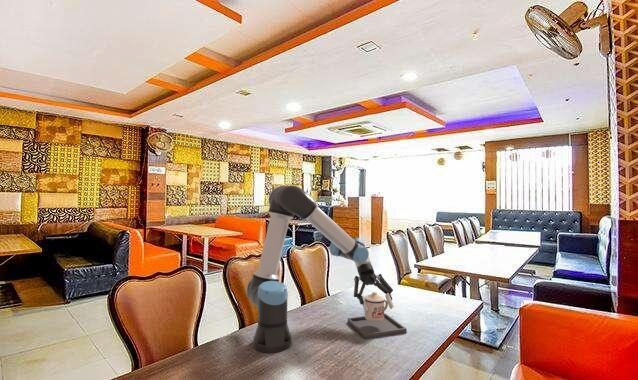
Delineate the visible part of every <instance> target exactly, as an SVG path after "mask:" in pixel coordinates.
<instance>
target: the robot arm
mask: <svg viewBox="0 0 638 380" xmlns="http://www.w3.org/2000/svg"><path fill="white" fill-rule="evenodd" d="M268 204H269V208H268V214H269V216H270V219H269V222H268V227H267V231H266V235H265V239H264V243H263V247H262V251H261V255H260V258H259V259H260V260H259V263H258V269H257V270H256V271H254V272H253V274H252V278H251V279H250V280H249V282H248V283H247V285H246V296H247V298H248V300H249V301H250V303H252V305H254V307H255V308H256V309H257V326H256V330H255V333H254V336H253V338H252V339H253V341H252V342H253V343H252V345H253V349H255V350H256V351H258V352H261V353H267V354H268V353H269V354H271V353H272V354H273V353H280V352H283V351H285V350H287V349H288V348H290V347H291V345H292V334H291V332H290V328H289V325H288V296H289V294H288V287H287V285H286V284H285V283H283V282H281V281H280V276H279V275H278V272H279V271H278V270H279V266H280V262H281V258H282V254H283V249H284V244H285V241H286V238H287V237H286V236H287V232H288V228H289V223H290V221H291V220H293V219H294V217H295V216H297V217H298V218H299V219H301V220H303V221H304V220H306V221H307V222H308V223H309V224H310V225H311V226H312V227H314V228H315V229H316V230H317V231H319V233H321V234H322V235H323V236H324V237H325V238H326V239H327V240H328V241H330V242H331V243H330V244H329V253H330V255H332V256H333V257H341V258H344V259H347V260H350V261H352V262H354V265H355V267H356V269H357V270H356V271H357V274H358V275H355V277H354V279H353V280H354V289H353V297H354V298H357V299H358V301H359V304H360V305H361V306H362V308H363V311H364V313H365V312H367V310H368V307H367V304H366V301H365V296H364V295H363V293H364V290H365V287H366V286H375V287H377V288H378V289H379V290H380V291H381V292H383V294H385V295H384V296H385V297H384V298H385V300H386V301H387V302H388V308H389V310H392V309H394V306H395V305H394V303H393V297H392V292H393V291H394V288H393V287H392V286H391V285H390V284H389V283H388V282H387V281H386V280H385V278H384V277H383V274H381V273H379V274H376V273H375V270H374V267H373V265H372V262H371V259H370V257H369V255H370V252H369V250H368V248H367V247H366V245H365V243H364V241H363V239H361V238H360V237H356V238H352V237H351V236H350V235H349V234H348V233H347V232H346V231H345V230H344V229H343V228H342V227H341V226H339V224H338V223H336V222H335V221H334V220H333V219H332V218H331V217H330V216H329V215H327V214H326V213H325V211H323V210H322V209H321V208H320V207H319V206H318V202H316V200H315V199H314V198H313V197H312V196H311V195H309V193H307V192H306V191H305V190H303V189H302V188H301V187H299V186H298V185H297V186H296V185H279V186H277V187H275V188H273V189H272V190H271V192H270V193H269V195H268ZM360 281H361V282H362V283H361V287H360V289H359V283H360Z"/></svg>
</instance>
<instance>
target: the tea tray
mask: <svg viewBox="0 0 638 380" xmlns="http://www.w3.org/2000/svg"><path fill="white" fill-rule="evenodd" d="M347 323H348V324H349V325H350V326H351V327H352V328H353V329H354V330H355V331H356V332H357V333H358V334H359V335H360V336H361V337H362V338H363V339H364V340H367V339H375V338H381V337H387V336H388V337H389V336H394V335H395V336H396V335H400V334H407V328H406V327H405V326H404V325H402V324H401V323H399V322H398V321H396V320H395V319H394V318H392V317H391V316H390V315H389V314H387V313H384V320H383V321H380V322H373V321H369V320H367V319H366V318H365V315H364V316H355V317H347Z"/></svg>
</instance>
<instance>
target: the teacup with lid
mask: <svg viewBox="0 0 638 380" xmlns="http://www.w3.org/2000/svg"><path fill="white" fill-rule="evenodd" d="M364 298H365V301H366V304H367V307H368V310H367V312H365V311H364V316H365V318H366V319H367V320H369V321H373V322H380V321H383V320H384V314H385V312H386V311H387V309H388V308H389V305H388V302H387V300H386V298H385V297H384V296H382V295H380V294H378V292H377V291H372V292H371V293H370V294H367V295H365V296H364Z"/></svg>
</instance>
